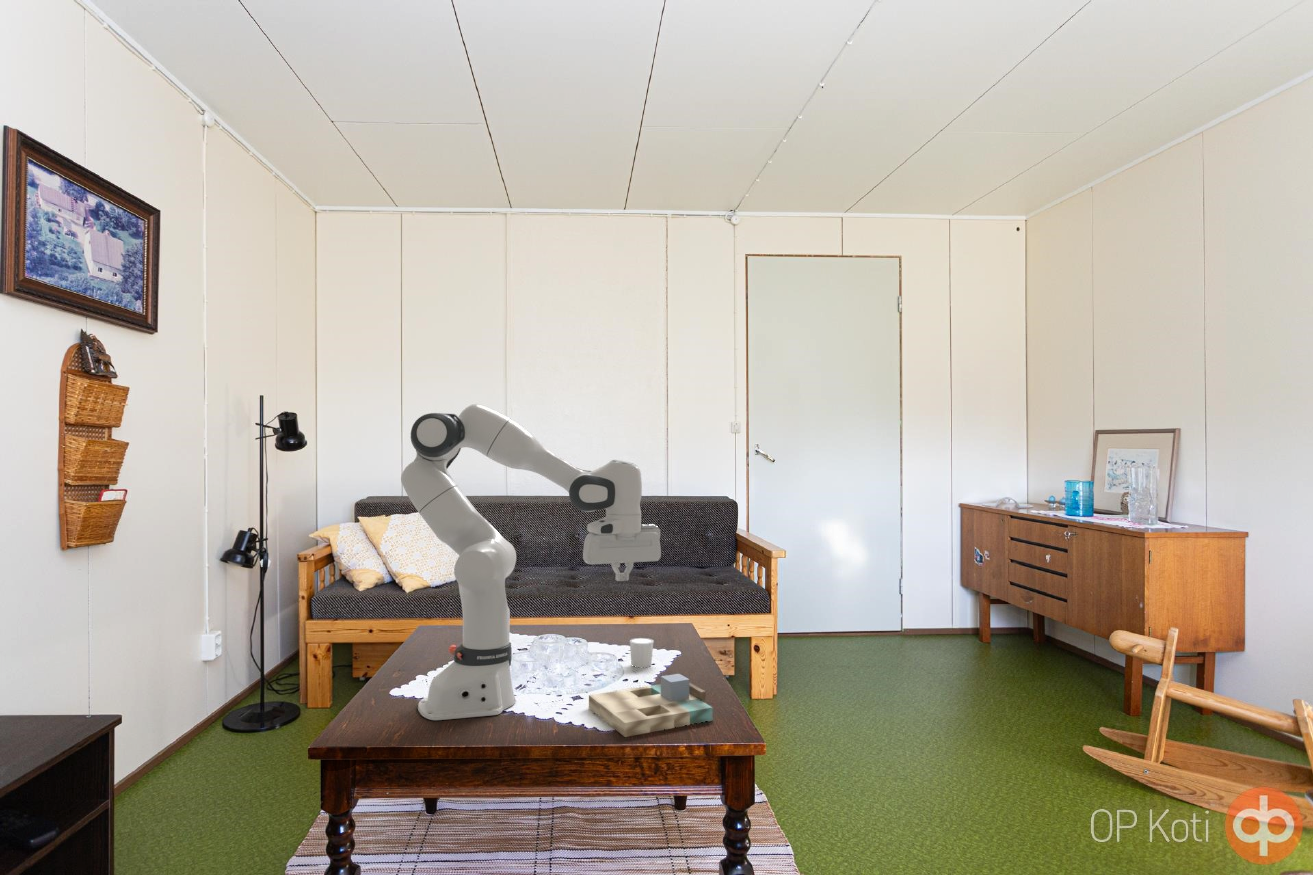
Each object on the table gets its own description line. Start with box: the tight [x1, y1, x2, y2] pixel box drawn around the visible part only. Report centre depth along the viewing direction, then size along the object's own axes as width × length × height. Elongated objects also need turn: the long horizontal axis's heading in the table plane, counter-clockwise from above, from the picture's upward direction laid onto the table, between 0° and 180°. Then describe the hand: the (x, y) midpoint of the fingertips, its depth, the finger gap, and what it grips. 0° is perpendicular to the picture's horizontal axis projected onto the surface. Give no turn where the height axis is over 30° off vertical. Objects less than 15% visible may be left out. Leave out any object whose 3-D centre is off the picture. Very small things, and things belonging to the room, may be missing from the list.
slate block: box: [660, 673, 691, 702], centre depth 179 cm, size 5×5×4 cm
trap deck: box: [588, 682, 714, 738], centre depth 176 cm, size 23×20×5 cm
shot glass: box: [629, 637, 655, 668], centre depth 215 cm, size 7×7×7 cm
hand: (622, 580), depth 189 cm, fingers closed
